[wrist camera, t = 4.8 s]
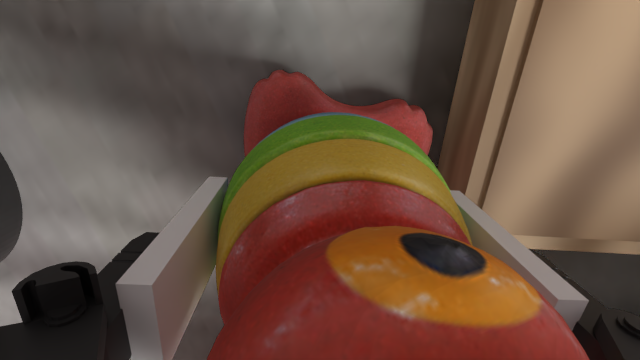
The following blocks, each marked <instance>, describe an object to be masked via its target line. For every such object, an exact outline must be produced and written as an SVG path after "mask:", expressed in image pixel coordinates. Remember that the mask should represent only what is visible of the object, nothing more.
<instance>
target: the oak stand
mask: <svg viewBox="0 0 640 360" xmlns="http://www.w3.org/2000/svg"><path fill="white" fill-rule="evenodd" d="M437 169H438V171H439V172H440V174H441V175H442V177H443V179H444V180H445V182H446V184H447V186H448V187H449V189H450V190H455V191H460V192H461V193H463V194H464V195H465V196H466V197H467V198H469V199H470V200H471V201H472V202H473V203H474V204H476V205H477V206H478V207H479V208H480V209H482V210H483V211H484V212H485V213H486V214H487V215H489V216H490V217H491V218H492V219H493V220H495V221H496V222H497V223H498V224H499V225H500V226H502V227H503V228H504V229H505V230H506V231H507V232H509V233H510V234H511V235H512V236H513V237H515V238H516V239H517V240H518V241H519V242H520V243H522V244H523V245H524V246H525V247H526V248H528V249H543V250H562V251H581V252H600V253H619V254H638V255H640V0H475V2H474V6H473V11H472V15H471V20H470V24H469V29H468V33H467V38H466V42H465V47H464V51H463V55H462V60H461V64H460V69H459V73H458V78H457V82H456V87H455V91H454V96H453V100H452V105H451V109H450V114H449V118H448V122H447V127H446V131H445V136H444V140H443V145H442V149H441V154H440V158H439V163H438V167H437Z"/></svg>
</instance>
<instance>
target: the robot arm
mask: <svg viewBox="0 0 640 360" xmlns="http://www.w3.org/2000/svg"><path fill="white" fill-rule="evenodd" d="M227 188H228V178H227V177H208V178H207V180H206V181H205V182H204V183H203V184H202V185H201V186H200V188H199V189H198V190H197V191H196V192H195V193H194V194H193V196H192V197H191V198H190V199H189V200H188V201H187V202H186V204H185V205H184V206H183V207H182V208H181V209H180V210H179V212H178V213H177V214H176V215H175V216H174V217H173V218H172V220H171V221H170V222H169V223H168V224H167V225H166V226H165V228H164V229H163V230H162V231H161V232H160V233H152V232H146V233H144V234H142V235H141V236H139V237H137V238H135V239H133V240H132V241H130V242H129V243H128V244H127V245H126V246H125V247H124V248H123V249H122V250H121V253H118V254H117V255H116V256H115V257H114V258H113V259H112V262H109V263H108V264H107V265H106V266H105V267H104V269H103V270H102V271H101V272H100V273H99V274H98V275H97V273H96V269H95V266H93V265H91V264H89V263H86V262H68V263H61V264H57V265H54V266H50V267H47V268H44V269H42V270H40V271H38V272H35V273H33V274H31V275H30V276H28V277H27V278H25V279H24V280H22V281H21V282H19V283H18V284H17V286H16V287H15V288H14V289H13V290H12V293H13V296H14V299H15V302H16V304H17V307H18V310H19V313H20V315H21V318H22V321H23V322H22V323H17V324H12V325H6V326H1V327H0V360H129V359H130V357H131V360H172V359H173V356H174V354H175V352H176V350H177V348H178V346H179V343H180V341H181V339H182V337H183V335H184V333H185V330H186V328H187V326H188V324H189V322H190V319H191V317H192V315H193V313H194V311H195V309H196V306H197V304H198V302H199V300H200V298H201V295H202V293H203V291H204V289H205V287H206V285H207V282H208V280H209V278H210V276H211V274H212V271H213V269H214V267H215V265H216V255H217V245H218V226H219V220H220V213H221V209H222V205H223V201H224V198H225V194H226V191H227ZM450 192H451V195H452V197H453V199H454V200H455V202H456V204H457V206H458V208H459V210H460V212H461V214H462V217H463V219H464V221H465V224H466V226H467V228H468V231H469V234H470V238H471V241H472V244H473V246H474V247H476V248H479V249H481V250H484V251H485V252H487V253H489V254H491V255H492V256H494V257H496V258H498V259H500V260H501V261H503V262H504V263H506V264H507V265H508V266H510V267H511V268H512V269H513V270H515V271H516V272H517V273H518V274H519V275H520V276H521V277H523V278H524V279H525V280H526V281H527V282H528V283H529V284H530V285H532V286H533V287H534V288H535V289H536V290H537V291H538V292H539V293H540V294H541V295H542V296H543V297H544V298H545V299H546V300H547V301H548V302H549V303H550V304H551V305H552V306H553V307H554V308H555V310H556V311H557V312H558V313H559V314H560V315H561V316H562V317H563V319H564V320H565V322H566V323H567V325H568V326H569V328H570V329H571V331H572V332H573V334H574V335H575V337H576V338H577V340H578V341H579V343H580V344H581V346H582V347H583V349H584V350H585V352H586V354H587V356H588V358H589V360H640V317H639V316H637V315H634V314H632V313H629V312H626V311H622V310H617V309H607V308H605V307H604V306H603V305H602V304H601V303H599V302H598V301H597V300H596V299H594V298H593V297H592V296H591V295H590V294H588V293H587V292H586V291H585V290H584V289H582V288H581V287H580V286H579V285H577V284H576V283H575V282H574V281H573V280H571V279H568V276H567V275H565V274H564V273H563V272H562V271H560V270H558V268H557V267H556V266H554V265H553V264H552V263H551V262H550V261H548V260H547V259H546V258H545V257H543V256H541V255H539V254H537V253H536V252H534V251H532V250H530V249H528V248H526V247H525V246H524V245H523V244H522V243H520V242H519V241H518V240H517V239H516V238H515V237H513V236H512V235H511V234H510V233H509V232H507V231H506V230H505V229H504V228H503V227H502V226H500V225H499V224H498V223H497V222H496V221H495V220H493V219H492V218H491V217H490V216H489V215H487V214H486V213H485V212H484V211H483V210H482V209H480V208H479V207H478V206H477V205H476V204H474V203H473V202H472V201H471V200H470V199H469V198H467V197H466V196H465V195H464V194H463V193H461V192H460V191H455V190H450ZM21 226H22V204H21V198H20V194H19V190H18V187H17V184H16V181H15V179H14V177H13V174H12V172H11V170H10V168H9V166H8V164H7V163H6V161H5V159H4V158H3V156H2V155H1V153H0V262H1V261H2V260H3V259H5V258H6V257H7V256H8V254H9V253H10V252H11V251H12V249H13V248H14V246H15V244H16V242H17V240H18V237H19V234H20V231H21Z"/></svg>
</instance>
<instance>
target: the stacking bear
mask: <svg viewBox="0 0 640 360" xmlns="http://www.w3.org/2000/svg"><path fill="white" fill-rule="evenodd" d="M432 136H433V129H432V127H431V125H430V124H429V123H428V122H427V118H426V115H425V113H424V111H423V110H422V109H421V108H420V107H419V106H416V105H408V104H407V103H406V101H404V100H402V99H391V100H387V101H384V102H381V103H378V104H374V105H368V106H352V105H347V104H343V103H340V102H338V101H336V100H334V99H332V98H330V97H328V96H327V95H326V94H325V93H323V92H322V91H321V90H320V89H319V88H318V87H317V86H316V84H315V83H314V82H313V81H312V80H311V79H310V78H308V77H307V76H306V75H304V74H302V73H300V72H294V73H291V74H290V73H287V72H285V71H284V70H276V71H274V72H272V73H271V75H270V76H269V78H268V79H262V80H260V81H258V82H257V83H256V84H255V86H254V88H253V90H252V92H251V95H250V98H249V102H248V106H247V111H246V117H245V124H244V153H245V158H244V160H243V161H242V162H241V164H240V165H239V167H238V168H237V170H236V171H235V173H234V175H233V177H232V179H231V181H230V183H229V186H228V188H227V191H226V194H225V198H224V201H223V205H222V209H221V213H220V220H219V226H218V245H217V255H216V282H217V291H218V300H219V307H220V314H221V317H222V320H223V323H224V327H223V328H222V330H221V331H220V333H219V335H218V336H217V338H216V340H215V343H214V345H213V347H212V349H211V351H210V354H209V356H208V358H207V360H589V358H588V356H587V354H586V352H585V350H584V349H583V347H582V346H581V344H580V343H579V341H578V340H577V338H576V337H575V335H574V334H573V332H572V331H571V329H570V328H569V326H568V325H567V323H566V322H565V320H564V319H563V317H562V316H561V315H560V314H559V313H558V312H557V311H556V310H555V308H554V307H553V306H552V305H551V304H550V303H549V302H548V301H547V300H546V299H545V298H544V297H543V296H542V295H541V294H540V293H539V292H538V291H537V290H536V289H535V288H534V287H533V286H532V285H530V284H529V283H528V282H527V281H526V280H525V279H524V278H523V277H521V276H520V275H519V274H518V273H517V272H516V271H515V270H513V269H512V268H511V267H510V266H508V265H507V264H506V263H504V262H503V261H501V260H500V259H498V258H496V257H494V256H492V255H491V254H489V253H487V252H485V251H484V250H481V249H479V248H476V247H474V246H473V244H472V241H471V238H470V234H469V231H468V228H467V226H466V224H465V221H464V219H463V217H462V214H461V212H460V210H459V208H458V206H457V204H456V202H455V200H454V199H453V197H452V195H451V192H450V189H449V187H448V186H447V184H446V182H445V180H444V179H443V177H442V175H441V174H440V172H439V171H438V169H437V168H436V166H435V165H434V163H433V162H432V161H431V160H430V158H429V157H428V153H429V150H430V147H431V143H432Z"/></svg>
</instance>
